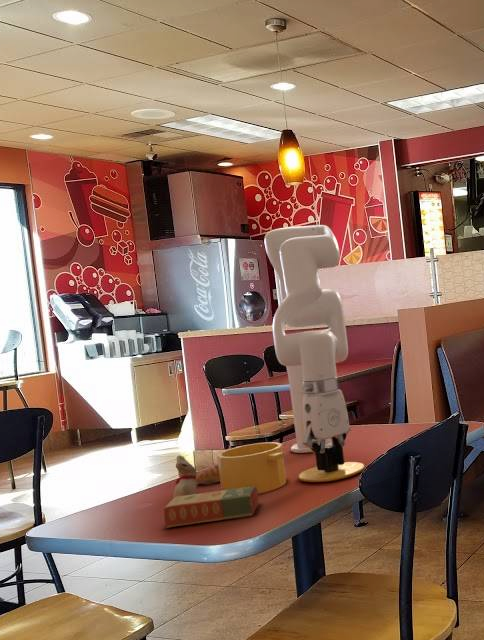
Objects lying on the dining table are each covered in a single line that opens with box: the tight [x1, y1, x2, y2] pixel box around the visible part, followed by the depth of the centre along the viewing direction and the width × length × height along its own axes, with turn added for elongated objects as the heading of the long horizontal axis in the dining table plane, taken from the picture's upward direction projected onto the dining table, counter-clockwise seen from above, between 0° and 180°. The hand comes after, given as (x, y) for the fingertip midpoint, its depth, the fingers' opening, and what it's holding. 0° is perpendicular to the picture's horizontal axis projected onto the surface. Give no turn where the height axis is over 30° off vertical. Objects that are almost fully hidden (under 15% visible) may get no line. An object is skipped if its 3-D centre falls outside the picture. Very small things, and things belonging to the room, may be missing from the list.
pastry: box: [196, 463, 220, 485], centre depth 176 cm, size 9×7×4 cm
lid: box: [298, 445, 365, 483], centre depth 169 cm, size 15×15×7 cm
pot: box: [216, 441, 287, 495], centre depth 165 cm, size 14×19×8 cm
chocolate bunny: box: [172, 454, 198, 499], centre depth 161 cm, size 6×8×10 cm
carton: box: [163, 486, 260, 529], centre depth 145 cm, size 8×16×4 cm, turn 98°
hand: (330, 466), depth 169 cm, fingers open, 4 cm apart
